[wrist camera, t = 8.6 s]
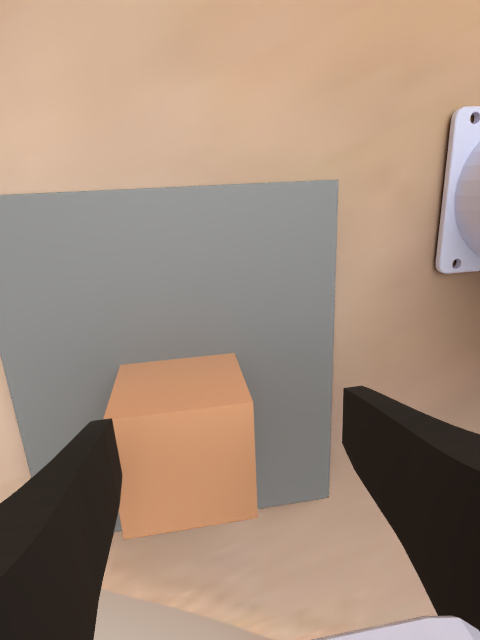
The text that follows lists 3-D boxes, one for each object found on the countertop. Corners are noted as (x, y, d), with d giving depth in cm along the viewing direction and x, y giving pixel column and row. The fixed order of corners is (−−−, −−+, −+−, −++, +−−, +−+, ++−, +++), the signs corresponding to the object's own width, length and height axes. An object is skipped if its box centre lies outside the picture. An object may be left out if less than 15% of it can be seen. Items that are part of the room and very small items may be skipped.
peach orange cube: (234, 353, 20) (252, 402, 15) (239, 447, 22) (257, 517, 17) (120, 364, 19) (102, 420, 15) (134, 461, 21) (124, 539, 16)
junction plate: (328, 180, 19) (374, 176, 15) (321, 483, 25) (353, 546, 21) (-26, 196, 17) (-96, 197, 13) (54, 525, 23) (25, 605, 18)
